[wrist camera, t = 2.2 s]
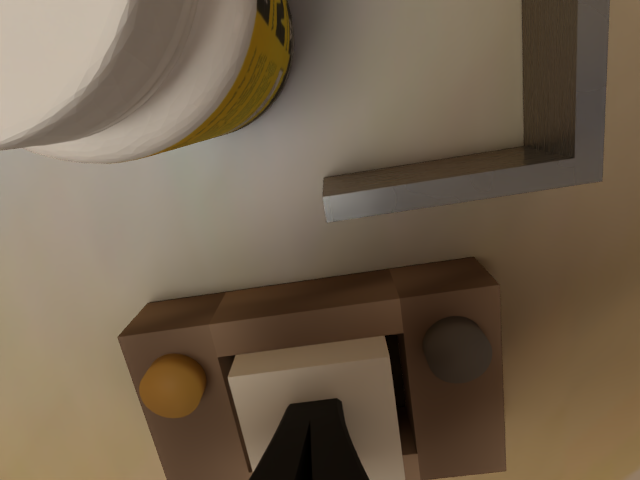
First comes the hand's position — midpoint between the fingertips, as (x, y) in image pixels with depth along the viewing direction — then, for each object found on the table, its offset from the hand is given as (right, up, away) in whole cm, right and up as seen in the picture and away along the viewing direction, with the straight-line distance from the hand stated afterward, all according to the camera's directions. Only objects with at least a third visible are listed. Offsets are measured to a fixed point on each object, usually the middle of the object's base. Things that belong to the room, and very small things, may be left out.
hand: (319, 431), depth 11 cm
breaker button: (0, +1, +2) cm, 2 cm away
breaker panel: (0, +1, +3) cm, 3 cm away
